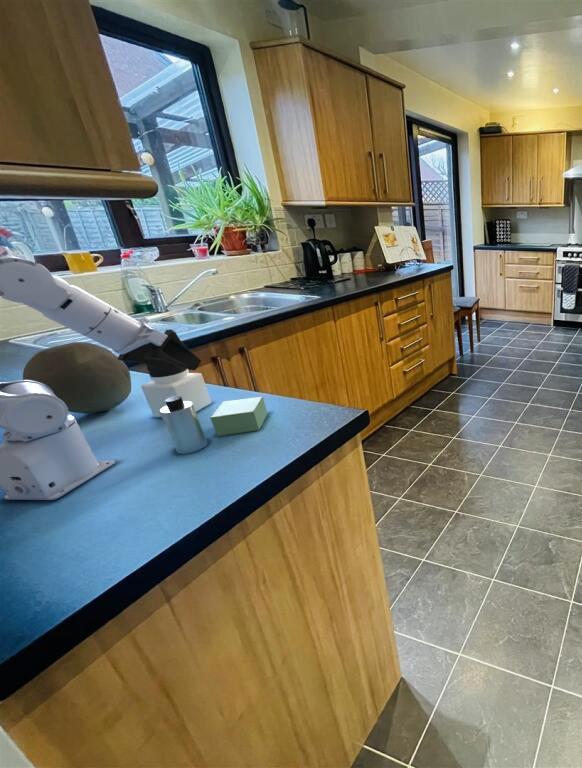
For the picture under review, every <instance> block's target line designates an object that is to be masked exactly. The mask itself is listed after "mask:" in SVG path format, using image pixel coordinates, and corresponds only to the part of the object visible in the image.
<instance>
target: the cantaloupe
mask: <svg viewBox="0 0 582 768" xmlns="http://www.w3.org/2000/svg"><path fill="white" fill-rule="evenodd" d="M131 378H132V377H131V372H130V370H129V367H128V366H127V364H126V363H125V361H120V360H118V356H117V355H116V354H115V353H114V352H112V351H111V350H110V349H109V348H107V347H105V346H101V345H98V344H95V343H92V342H85V341H72V342H68V343H63V344H57V345H54V346H51V347H48V348H44V349H41V350H39V351H37V352H36V353H34V355H32V356H31V358H30V359H29V360H28V361H27V362H26V364H25V366H24V368H23V372H22V380H31V381H36V382H40V383H42V384H45V385H46V386H48V387H49V388H50V389H51V390H52V391H53V392H54V394H55V396H56V397H57V398H59V399H61V400H62V401H63V402H64V403H65V404H66V406H67V408H68V413H75V414H95V413H101V412H106V411H110V410H112V409H114V408H116V407H118V406H119V405H121V404H122V403H124V402H125V401H126V400H127V399H128V397H129V396H130V394H131V393H132V379H131Z"/></svg>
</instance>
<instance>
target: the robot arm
mask: <svg viewBox="0 0 582 768" xmlns="http://www.w3.org/2000/svg"><path fill="white" fill-rule="evenodd" d="M0 297H1V298H2V299H4V300H6V301H8V302H13V303H17V304H23V305H25V306H27V307H29V308H31V309H33V310H35V311H37V312H40V313H41V314H42V316H43V317H44V318H47V319H48V320H51V321H53V322H55V323H57V324H59V325H61V326H63V327H66V328H68V329H70V330H71V331H74V332H76V333H78V334H80V335H82V336H84V337H86V338H88V339H90V340H92V341H94V342H96V343H98V344H100V345H102V346H103V347H106V348H108V349H111V350H112V351H113V353H116V354H118V356H117V357H118V360H120V361H123V362H129V363H137V364H141V365H148V366H152V367H155V368H158V369H162V370H165V371H172V370H173V369H174V367H175V366H176V365H178V366H180V367H183V368H186V369H188V370H189V371H196V370H197V369H198V367H199V366H200V364H201V362H202V359H200V358H199V357H198V356H197V355H196V354H195V353H194V352H192V350H190V349H189V348H188V347H187V346H186V345H185V344H184V343H183V342H182V340H181V338H180V337H179V336H178V334H177V332H176V331H175V330H173V329H165V331H164V332H163V331H161V330H158V329H157V328H152V327H151V326H150V325H148V323H149V322H150V318H148V317H147V316H144V317H143V316H142V317H140V318H139V319H135V318H133V317H132V316H129V315H128V314H126V313H124V312H123V311H120V309H117V308H116V307H114V306H112V305H110V304H109V303H106V302H105V301H103V300H101V299H99V298H97V297H96V296H94V295H92V294H90V293H89V292H87V291H85V290H83V289H81V288H80V287H78V286H75V285H70V284H69V283H68V282H67V281H65V279H62V278H60V277H57V276H54V275H52V273H51V272H50V270H49V269H48V268H47V267H45V266H44V265H43V264H41V263H37V262H34V261H31V260H28V259H25V258H22V257H18V256H11V255H5V254H0ZM0 429H2V430H5V431H4V432H3V433H2V437H3V438H4V439H3V441H2V443H1V444H0V486H1V488H2V489H3V491H4V492H5V493H6V495H4V497H3V498H4V499H5V500H9V501H10V500H16V501H17V500H19V501H20V500H21V501H22V500H23V501H24V500H25V501H55V500H58V499H59V498H61V497H63V496H65V495H66V494H68V493H69V492H71V491H72V490H74V489H76V488H78V487H79V486H80V485H82V484H84V483H85V482H87V481H89V480H90V479H93V477H95V476H97V475H98V474H100V473H102V472H103V471H105V470H107V469H108V468H110V467H111V466H113V465H114V464H116V461H115V460H113V459H97V458H96V456H95V454H94V452H93V450H92V448H91V446H90V444H89V443H88V440H87V439H86V437H85V435H84V433H83V431H82V429H81V427H80V425H79V423H78V421H77V420H76V418H75V416H74V415H73V414H69V411H68V408H67V406H66V404H65V403H64V402H63V401H62V400H61V399H59V398H57V397H56V396H55V394H54V392H53V391H52V390H51V389H50V388H49V387H48V386H46V385H45V384H42V383H40V382H36V381H31V380H23V379H20V380H12V381H0Z"/></svg>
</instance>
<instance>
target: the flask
mask: <svg viewBox="0 0 582 768" xmlns="http://www.w3.org/2000/svg"><path fill="white" fill-rule="evenodd" d="M165 403H166V405H167V406H165V407H163V408H161V409H160V413H161V415H162V417H161V418H162V420H163V422H164V425H165V427H166V430H167V432H168V435H169V436H170V438H171V441H172V443H173V446H174V448H175V450H176V452H177V454H179V455H180V454H181V455H185V454H186V455H187V454H191V453H195V452H197V451H200V450H202V449H204V448H205V447H206V446H207V445H208V440H207V437H206V435H205V432H204V429H203V427H202V425H201V422H200V419H199V416H198V413H197V412H196V411H195V409H194V406H193V403H192V402H190V401H183V400H182V397H181V396H175V397H171V398H168V399H166V400H165Z"/></svg>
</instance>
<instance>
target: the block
mask: <svg viewBox="0 0 582 768" xmlns="http://www.w3.org/2000/svg"><path fill="white" fill-rule="evenodd" d="M268 415H269V413H268V410H267V408H266V403H265V399H264V397H263V396H255V397H254V396H253V397H248V398H240V399H233V400H225V401H224V400H223V401H222V403H220V405H219V406H218V407H217V409H216V410H215V411H214V412H213V413H212V414H211V416H210V421H211V423H212V426H213V429H214V432H215V434H216V437H221V436H228V435H229V436H230V435H236V434H241V433H249V432H255V431H260V430H261V427H262V426H263V424H264V422H265V420H266V418H267V416H268Z"/></svg>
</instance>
